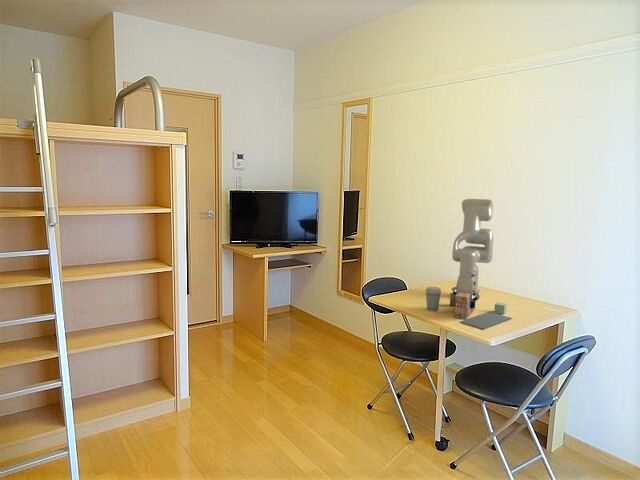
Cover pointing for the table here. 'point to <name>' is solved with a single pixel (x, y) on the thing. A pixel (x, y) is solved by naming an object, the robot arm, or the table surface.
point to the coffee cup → (433, 298)
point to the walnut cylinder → (452, 300)
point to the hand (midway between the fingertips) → (465, 306)
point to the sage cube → (500, 308)
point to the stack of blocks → (463, 305)
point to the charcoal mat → (485, 320)
